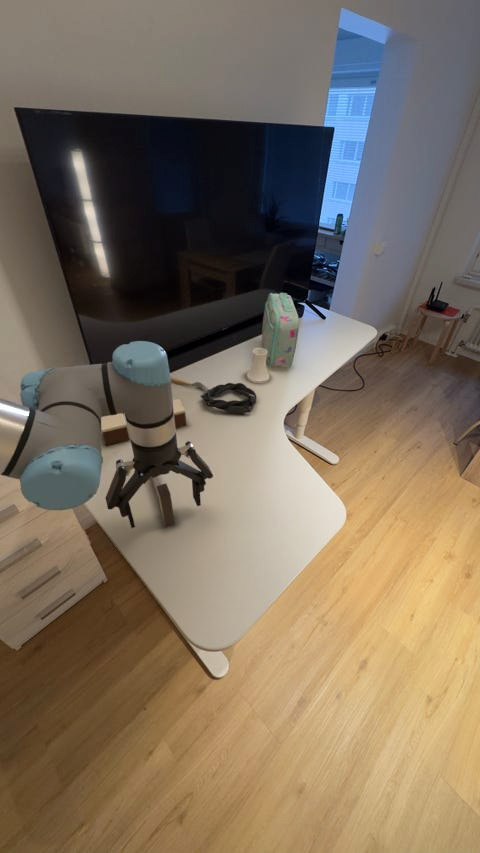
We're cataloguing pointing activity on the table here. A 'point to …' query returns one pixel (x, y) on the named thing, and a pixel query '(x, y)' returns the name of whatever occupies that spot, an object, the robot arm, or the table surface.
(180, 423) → the cake slice
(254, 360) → the vase
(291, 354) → the lunch box
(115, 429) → the cake
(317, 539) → the table surface
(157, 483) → the long brown beam
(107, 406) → the robot arm
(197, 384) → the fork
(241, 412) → the cable
